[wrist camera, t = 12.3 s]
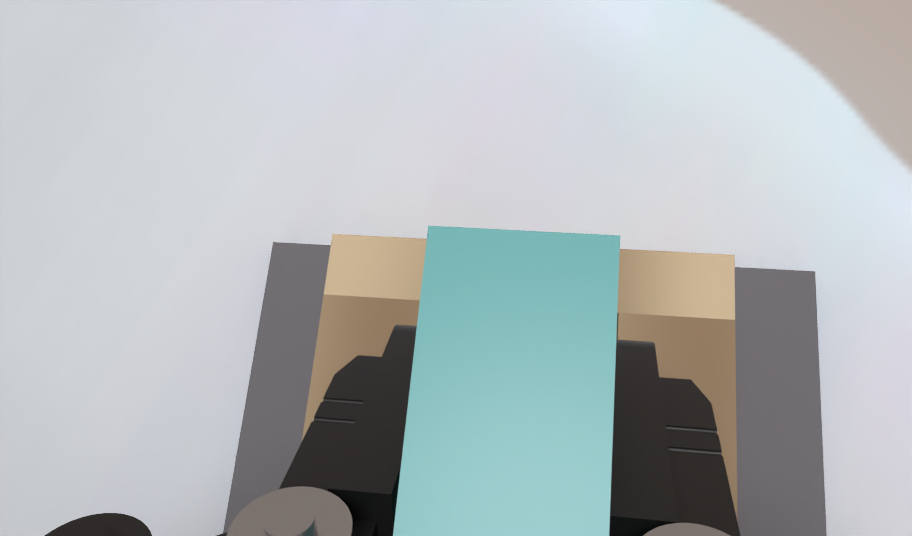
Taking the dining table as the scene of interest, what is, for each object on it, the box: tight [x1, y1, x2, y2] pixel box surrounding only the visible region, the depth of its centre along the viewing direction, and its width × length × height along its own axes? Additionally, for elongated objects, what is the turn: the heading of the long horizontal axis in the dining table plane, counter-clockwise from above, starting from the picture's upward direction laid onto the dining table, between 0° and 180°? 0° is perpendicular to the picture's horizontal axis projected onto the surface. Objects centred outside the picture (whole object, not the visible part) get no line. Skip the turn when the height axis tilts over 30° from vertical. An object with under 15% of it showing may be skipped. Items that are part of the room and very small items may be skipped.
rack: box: [302, 234, 737, 518], centre depth 15 cm, size 7×9×3 cm
